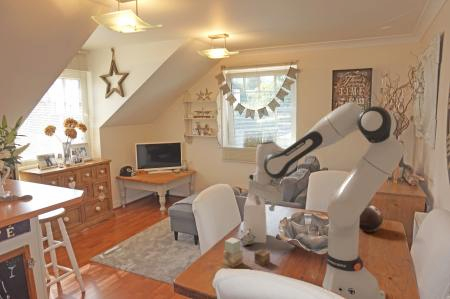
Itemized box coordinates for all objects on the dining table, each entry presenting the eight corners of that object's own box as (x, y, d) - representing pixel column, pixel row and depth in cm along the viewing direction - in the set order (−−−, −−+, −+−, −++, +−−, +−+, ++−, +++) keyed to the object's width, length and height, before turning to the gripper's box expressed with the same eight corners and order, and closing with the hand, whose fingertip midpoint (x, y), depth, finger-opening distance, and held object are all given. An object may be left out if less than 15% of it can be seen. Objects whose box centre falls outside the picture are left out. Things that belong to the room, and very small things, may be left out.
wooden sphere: (380, 238, 171) (381, 211, 169) (350, 232, 179) (351, 206, 177) (383, 228, 184) (384, 203, 182) (355, 224, 192) (356, 199, 190)
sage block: (240, 250, 147) (240, 240, 147) (233, 254, 144) (233, 243, 143) (232, 247, 151) (232, 237, 150) (225, 251, 147) (224, 240, 146)
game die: (249, 253, 166) (254, 243, 159) (234, 246, 167) (238, 236, 160) (254, 239, 172) (259, 229, 165) (239, 232, 173) (243, 222, 166)
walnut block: (269, 262, 148) (269, 252, 147) (263, 266, 144) (263, 256, 144) (260, 259, 151) (260, 249, 151) (254, 263, 148) (254, 252, 147)
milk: (243, 241, 171) (242, 194, 167) (245, 233, 182) (244, 188, 178) (265, 243, 169) (265, 195, 165) (266, 234, 180) (266, 189, 176)
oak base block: (242, 262, 148) (241, 250, 147) (233, 267, 144) (233, 255, 143) (232, 258, 152) (232, 246, 151) (223, 263, 148) (223, 251, 147)
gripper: (287, 181, 135) (286, 213, 138) (256, 172, 152) (256, 200, 155) (275, 183, 132) (274, 216, 134) (246, 174, 149) (245, 202, 151)
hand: (264, 207), depth 144 cm, fingers open, 8 cm apart
